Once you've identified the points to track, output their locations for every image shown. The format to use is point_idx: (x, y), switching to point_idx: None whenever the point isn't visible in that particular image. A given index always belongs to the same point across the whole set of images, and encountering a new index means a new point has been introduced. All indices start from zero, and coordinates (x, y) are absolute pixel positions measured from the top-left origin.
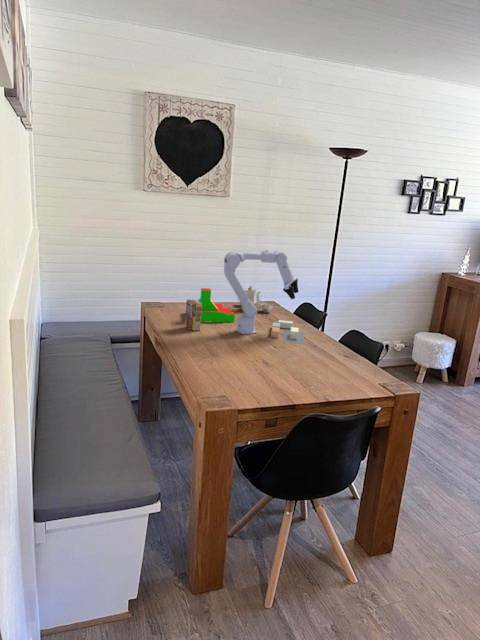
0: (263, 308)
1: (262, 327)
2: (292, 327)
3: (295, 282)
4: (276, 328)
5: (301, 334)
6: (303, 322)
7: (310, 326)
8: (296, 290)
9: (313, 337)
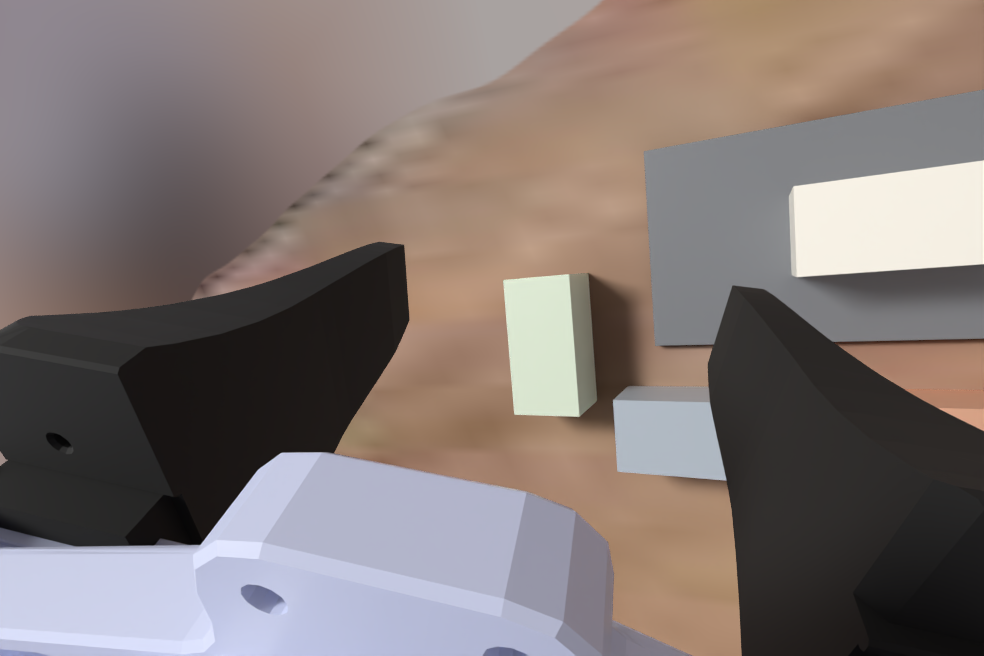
0: None
1: (632, 537)
2: (812, 258)
3: (226, 385)
4: None
5: (750, 159)
6: (342, 205)
7: (416, 132)
8: (383, 291)
9: (767, 27)
